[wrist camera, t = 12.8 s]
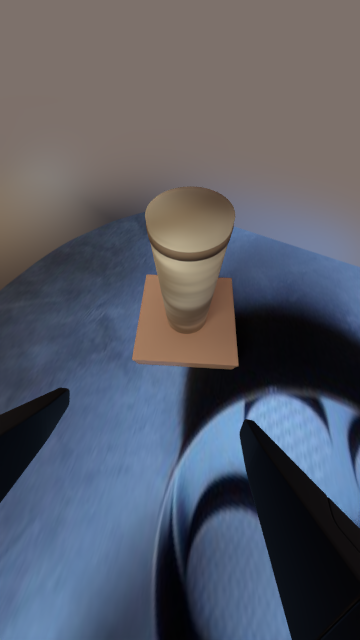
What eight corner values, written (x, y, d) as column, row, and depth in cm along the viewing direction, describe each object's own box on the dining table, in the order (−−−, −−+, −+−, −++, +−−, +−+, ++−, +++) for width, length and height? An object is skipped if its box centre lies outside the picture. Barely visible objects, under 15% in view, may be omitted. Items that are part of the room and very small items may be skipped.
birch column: (215, 318, 21) (255, 216, 9) (183, 342, 20) (182, 261, 8) (189, 291, 23) (195, 176, 11) (158, 312, 21) (127, 208, 10)
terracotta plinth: (226, 290, 26) (231, 277, 23) (231, 369, 21) (238, 365, 19) (150, 286, 27) (146, 274, 24) (138, 363, 22) (132, 359, 19)
